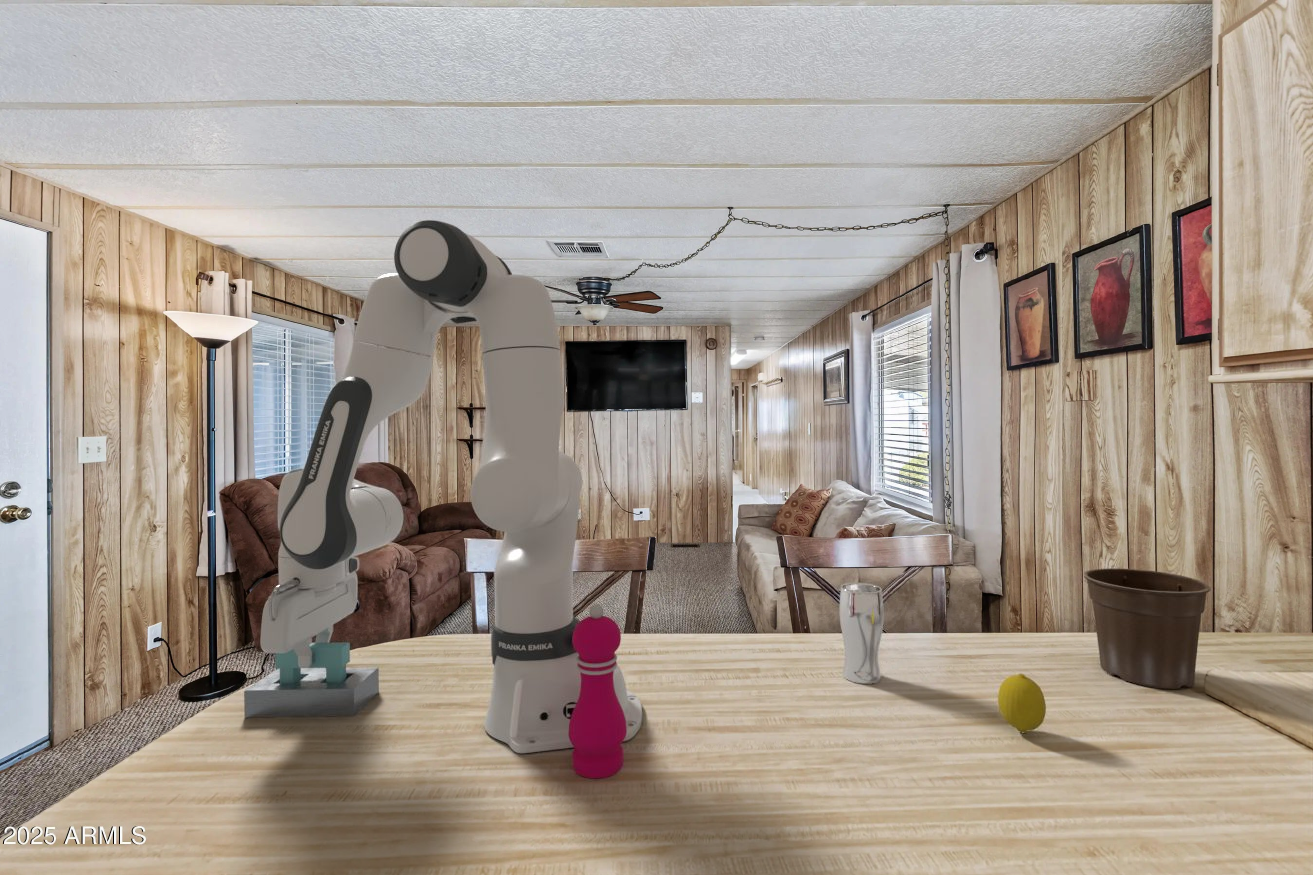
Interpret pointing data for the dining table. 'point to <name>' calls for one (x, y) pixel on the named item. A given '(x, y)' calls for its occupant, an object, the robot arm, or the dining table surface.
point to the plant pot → (1147, 624)
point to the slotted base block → (311, 694)
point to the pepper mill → (597, 699)
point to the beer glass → (861, 631)
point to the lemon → (1021, 703)
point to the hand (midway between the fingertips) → (313, 660)
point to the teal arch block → (316, 662)
